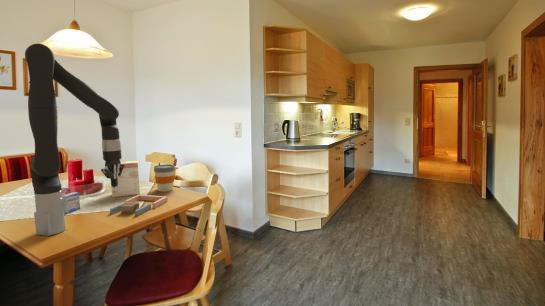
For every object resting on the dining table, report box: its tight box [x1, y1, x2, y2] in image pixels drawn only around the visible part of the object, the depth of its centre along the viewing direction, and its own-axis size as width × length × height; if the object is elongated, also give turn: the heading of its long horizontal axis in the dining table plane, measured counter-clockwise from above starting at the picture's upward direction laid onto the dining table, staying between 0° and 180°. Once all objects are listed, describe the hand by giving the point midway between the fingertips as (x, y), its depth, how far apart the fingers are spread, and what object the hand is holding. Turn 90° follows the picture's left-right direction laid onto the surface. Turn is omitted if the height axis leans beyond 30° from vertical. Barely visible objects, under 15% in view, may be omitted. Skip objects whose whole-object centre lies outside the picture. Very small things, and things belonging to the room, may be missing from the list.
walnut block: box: [120, 202, 140, 215], centre depth 156 cm, size 6×6×4 cm
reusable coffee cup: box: [153, 164, 176, 192], centre depth 196 cm, size 13×13×15 cm
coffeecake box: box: [110, 160, 141, 198], centre depth 185 cm, size 15×7×20 cm, turn 114°
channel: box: [109, 201, 152, 217], centre depth 156 cm, size 11×15×2 cm
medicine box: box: [62, 191, 81, 214], centre depth 156 cm, size 8×4×9 cm, turn 168°
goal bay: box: [123, 194, 169, 209], centre depth 169 cm, size 12×18×2 cm
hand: (114, 186), depth 144 cm, fingers closed
